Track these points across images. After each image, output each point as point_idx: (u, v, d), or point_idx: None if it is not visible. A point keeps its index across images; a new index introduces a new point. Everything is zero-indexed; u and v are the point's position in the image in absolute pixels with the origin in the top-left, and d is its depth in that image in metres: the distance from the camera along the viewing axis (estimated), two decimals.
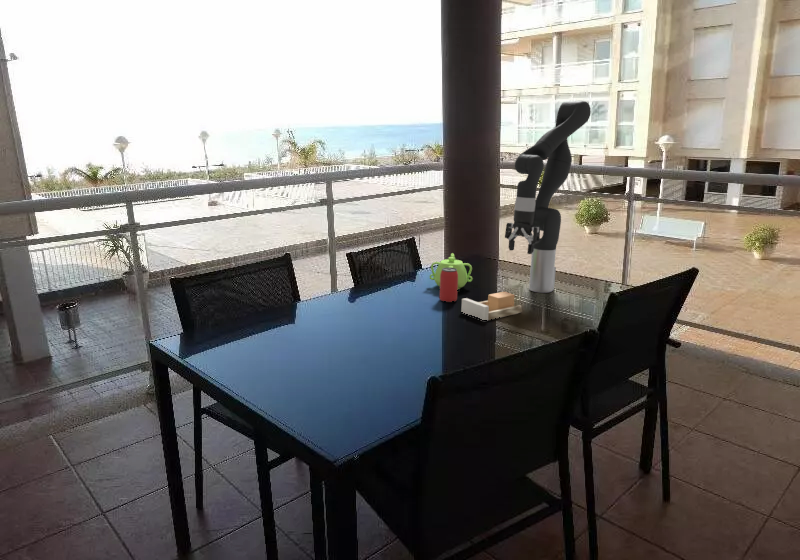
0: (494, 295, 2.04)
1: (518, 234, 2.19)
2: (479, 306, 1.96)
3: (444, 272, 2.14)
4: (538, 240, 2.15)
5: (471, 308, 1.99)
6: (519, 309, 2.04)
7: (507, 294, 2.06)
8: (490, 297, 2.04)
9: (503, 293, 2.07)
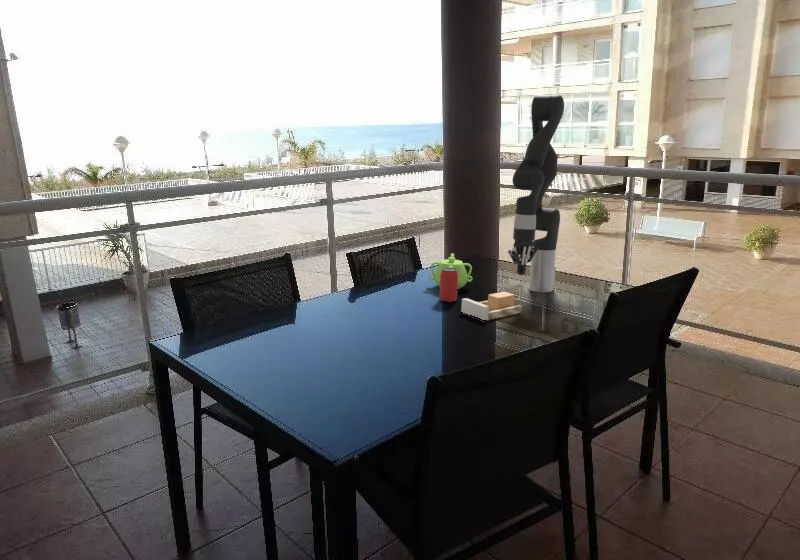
0: (494, 295, 2.04)
1: (526, 251, 2.06)
2: (479, 306, 1.96)
3: (443, 272, 2.14)
4: None
5: (471, 308, 1.99)
6: (519, 309, 2.04)
7: (507, 294, 2.06)
8: (490, 297, 2.04)
9: (503, 293, 2.07)
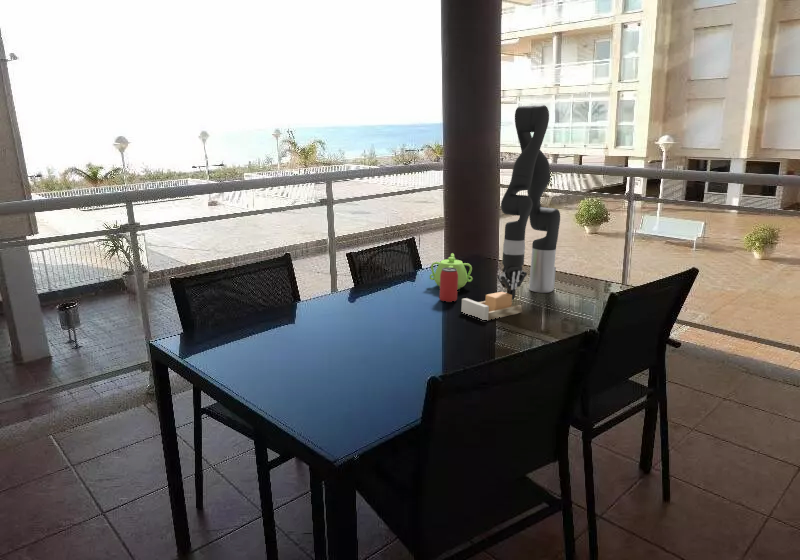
0: (491, 295, 2.03)
1: (515, 276, 2.06)
2: (479, 306, 1.96)
3: (444, 272, 2.14)
4: None
5: (471, 308, 1.99)
6: (519, 309, 2.04)
7: (504, 294, 2.06)
8: (487, 297, 2.04)
9: (501, 293, 2.06)
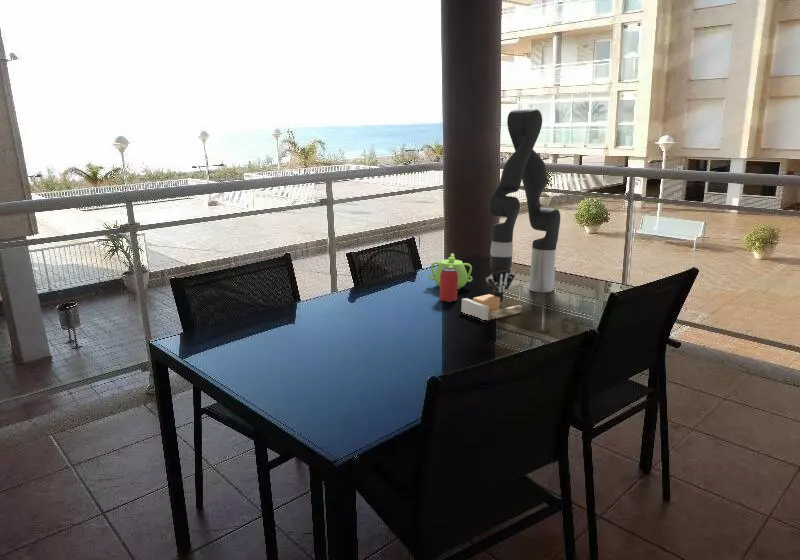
0: (479, 298, 2.00)
1: (503, 278, 2.03)
2: (479, 306, 1.96)
3: (444, 272, 2.14)
4: None
5: (471, 308, 1.99)
6: (519, 309, 2.04)
7: (492, 296, 2.02)
8: (475, 300, 2.00)
9: (488, 296, 2.03)
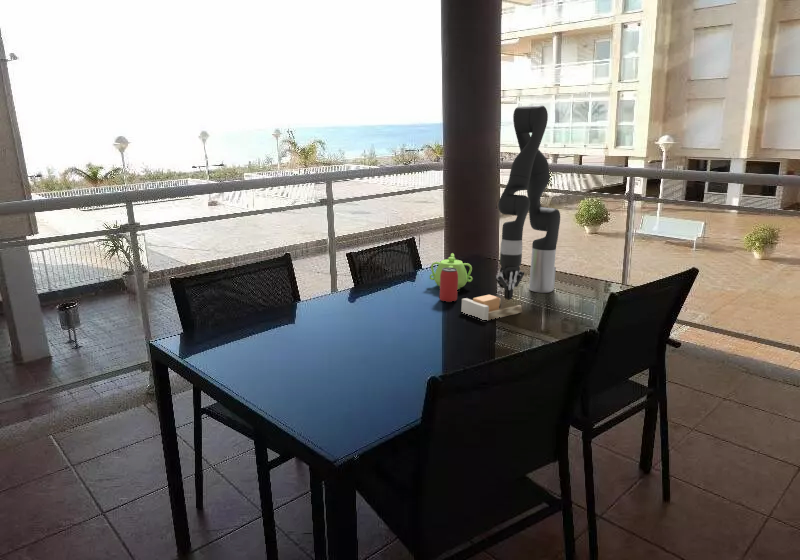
0: (479, 298, 2.00)
1: (512, 276, 2.05)
2: (479, 306, 1.96)
3: (444, 272, 2.14)
4: None
5: (471, 308, 1.99)
6: (519, 309, 2.04)
7: (492, 297, 2.02)
8: (475, 300, 2.00)
9: (488, 296, 2.03)
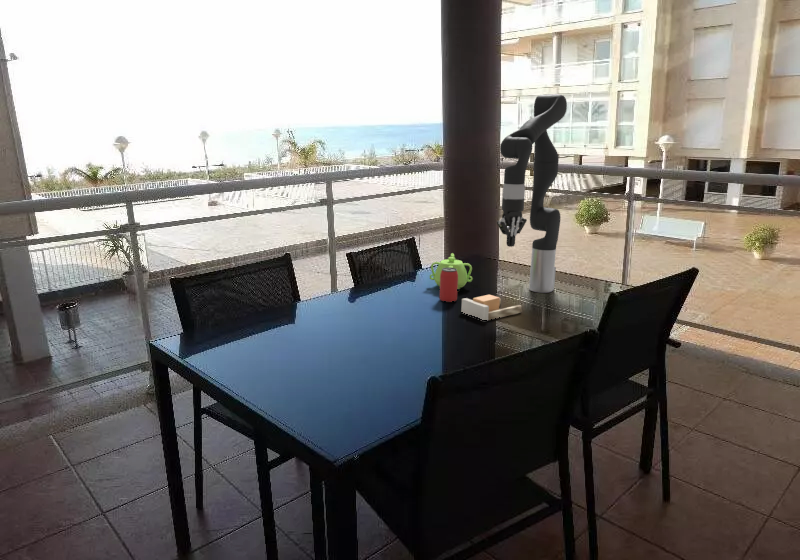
0: (479, 298, 2.00)
1: (515, 222, 2.02)
2: (479, 306, 1.96)
3: (443, 272, 2.14)
4: None
5: (471, 308, 1.99)
6: (519, 309, 2.04)
7: (492, 297, 2.02)
8: (475, 300, 2.00)
9: (488, 296, 2.03)
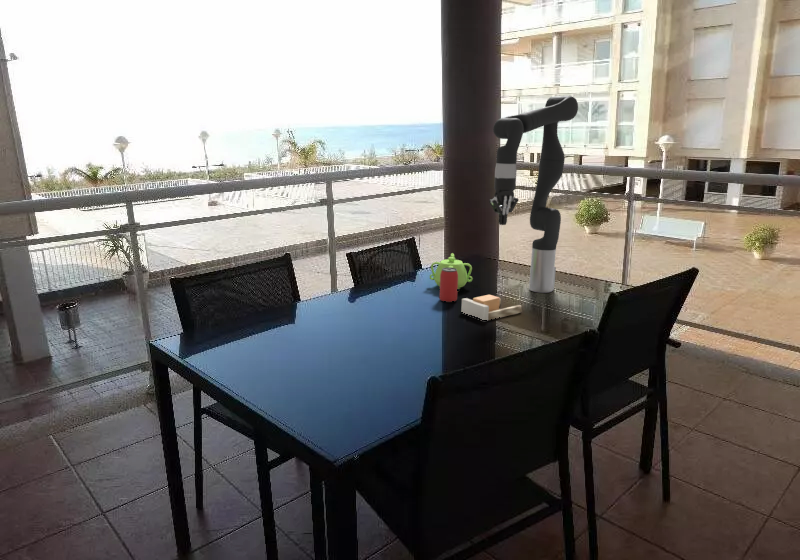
0: (479, 298, 2.00)
1: (507, 201, 2.08)
2: (479, 306, 1.96)
3: (443, 272, 2.14)
4: None
5: (471, 308, 1.99)
6: (519, 309, 2.04)
7: (492, 297, 2.02)
8: (475, 300, 2.00)
9: (488, 296, 2.03)
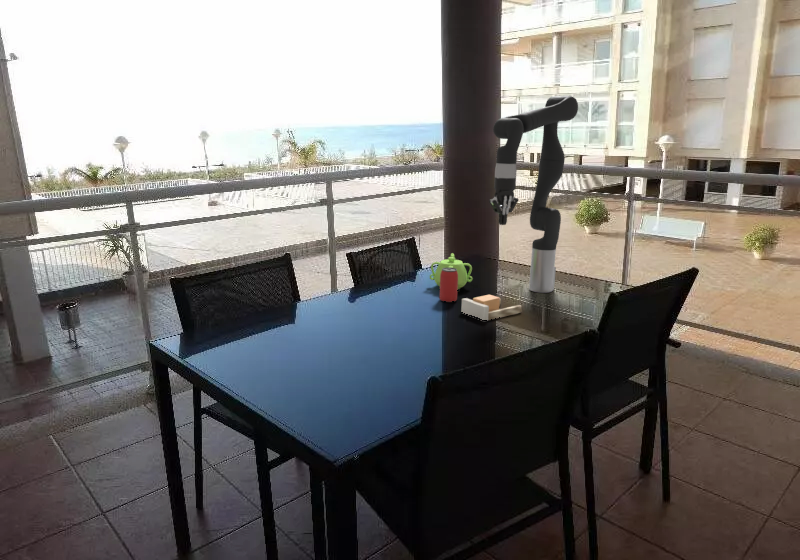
0: (479, 298, 2.00)
1: (507, 201, 2.08)
2: (479, 306, 1.96)
3: (444, 272, 2.14)
4: None
5: (471, 308, 1.99)
6: (519, 309, 2.04)
7: (492, 297, 2.02)
8: (475, 300, 2.00)
9: (488, 296, 2.03)
